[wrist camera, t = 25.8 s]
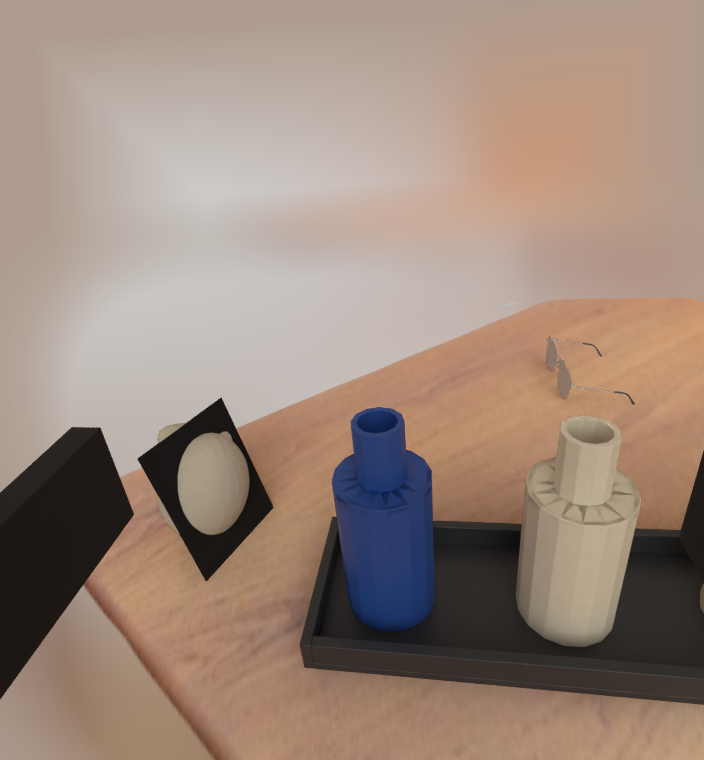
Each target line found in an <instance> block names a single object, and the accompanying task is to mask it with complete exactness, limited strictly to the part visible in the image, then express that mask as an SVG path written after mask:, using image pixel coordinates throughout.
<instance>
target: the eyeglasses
mask: <svg viewBox="0 0 704 760" xmlns="http://www.w3.org/2000/svg"><path fill="white" fill-rule="evenodd" d="M553 340H556V341H564V342H573V341H565V340H558V339H552V338H551V337H550V336H549V338H547V341H548V343H547V350H546V363H547V366H548V368H549V370H550V371H551V372H553V370H554V368H555V366H556V365H557V362H558V361H559V362H558V363H559V364H558V366H557V367H559V372H558V388H559V392H560V394H561V396H562V398H563V399H566V398H567V396H568V394H569V391H570V388H571V387H572V388H580V389H589V390H597V391H606V392H614V393H621V394H626V395H627V396H628V397H629V399H630V400H631V402H632V404H635V403H634V402H633V400H632V399H631V397H630V396H629V395H628V394H627V393H624V392H616V391H607V390H600V389H593V388H586V387H579V386H573V385H572V384H571V383H572V377H571V374H570V372H569V370H568V367H567V365H566V363H565V362H564V360H563V359H561V357H560V356H558V350H557V347H556V345H555V343H554V341H553ZM573 343H580V342H573ZM581 344H587V345H592V344H588V343H581ZM592 346H594V345H592ZM594 347H595V346H594ZM595 348H596V347H595ZM596 350H597V352H598V354H599V355H600V356H602V355H601V354H600V352H599V351H598V349H597V348H596ZM558 357H559V358H560V360H558ZM557 360H558V361H557Z"/></svg>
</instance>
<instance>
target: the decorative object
mask: <svg viewBox="0 0 704 760" xmlns="http://www.w3.org/2000/svg"><path fill="white" fill-rule="evenodd" d="M138 461H139V463H140V464H141V466H142V468H143V470H144V472H145V473H146V475H147V477H148V479H149V480H150V482H151V484H152V486H153V488H154V489H155V491H156V493H157V495H158V504H159V507H160V511H161V513H162V516H163V518H164V519H165V521H166V523H167V524H168V526H169V527H170V528H171V529H172V530H173V531H174V532H176V533H177V534H178V535H180V536H181V537H182V539H183V541H184V543H185V545H186V546H187V548H188V550H189V552H190V553H191V555H192V557H193V559H194V561H195V562H196V564H197V566H198V568H199V569H200V571H201V573H202V575H203V577H204V578H205V580H206V581H207V580H208V579H209V578H210V577H211V576H212V575H213V574H214V573H215V571H216V570H217V569H218V568H219V567H220V566H221V565H222V564H223V563H224V562H225V560H226V559H227V558H228V557H229V556H230V555H231V554H232V553H233V552H234V551H235V549H236V548H237V547H238V546H239V545H240V544H241V543H242V542H243V541H244V540H245V538H246V537H247V536H248V535H249V534H250V533H251V532H252V531H253V530H254V529H255V527H256V526H257V525H258V524H259V523H260V522H261V521H262V520H263V519H264V518H265V516H266V515H267V514H268V513H269V512H270V511H271V510H272V509H273V508H274V507H273V505H272V503H271V501H270V499H269V497H268V495H267V493H266V491H265V488H264V486H263V484H262V482H261V480H260V478H259V476H258V474H257V472H256V470H255V467H254V465H253V463H252V461H251V459H250V457H249V455H248V453H247V451H246V448H245V446H244V444H243V442H242V440H241V438H240V436H239V434H238V432H237V430H236V427H235V425H234V423H233V421H232V419H231V417H230V415H229V413H228V411H227V409H226V407H225V404H224V402H223V400H222V398H220V399H218V400H217V401H216V402H214V403H213V404H212V405H210V406H209V407H208V408H206V409H205V410H203V411H202V412H201V413H199V414H198V415H197V416H195V417H194V418H193V419H191V420H190V421H188V422H187V423H182V424H174V425H169V426H166V427H164V428H163V429H162V430H160V431H159V434H158V444H157V445H156V446H154V447H153V448H151V449H150V450H149V451H147V452H146V453H145V454H143V455H142V456H141V457H139V458H138Z"/></svg>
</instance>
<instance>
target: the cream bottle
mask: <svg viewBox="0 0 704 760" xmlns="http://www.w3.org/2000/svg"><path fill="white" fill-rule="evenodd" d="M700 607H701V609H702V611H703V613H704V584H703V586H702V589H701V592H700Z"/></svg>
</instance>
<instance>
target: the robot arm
mask: <svg viewBox="0 0 704 760" xmlns="http://www.w3.org/2000/svg"><path fill="white" fill-rule="evenodd" d="M133 515H134V513H133V510H132V508H131V505H130V503H129V500H128V498H127V495H126V492H125V490H124V487H123V485H122V482H121V480H120V477H119V474H118V472H117V469H116V467H115V464H114V462H113V459H112V457H111V454H110V451H109V449H108V446H107V444H106V441H105V439H104V436H103V434H102V431H101V428H83V427H80V428H79V427H72V428H71V429H69V430H68V431H67V432H66V433H65V434H64V435H63V436H62V437H61V438H60V439H58V440H57V441H56V442H55V443H54V444H53V445H52V446H51V447H50V448H49V449H48V450H47V451H45V452H44V453H43V454H42V455H41V456H40V457H39V458H38V459H37V460H36V461H34V462H33V463H32V465H30V466H29V467H28V468H27V469H26V470H25V471H24V472H22V473H21V474H20V475H19V476H18V477H17V478H16V479H15V480H14V481H13V482H12V483H10V485H8V486H7V487H6V488H5V489H4V490H3V491H2V492H1V493H0V699H1V698H2V696H3V695H4V693H5V692H6V691H7V689H8V688H9V687H10V685H11V684H12V682H13V681H14V679H15V678H16V677H17V676H18V674H19V673H20V671H21V670H22V668H23V667H24V666H25V664H26V663H27V662H28V660H29V659H30V658H31V656H32V655H33V653H34V652H35V651H36V649H37V648H38V647H39V645H40V644H41V642H42V641H43V639H44V638H45V636H46V635H47V634H48V633H49V631H50V630H51V629H52V627H53V626H54V624H55V623H56V621H57V620H58V619H59V617H60V616H61V615H62V613H63V612H64V611H65V609H66V608H67V606H68V605H69V604H70V602H71V601H72V600H73V598H74V597H75V595H76V594H77V593H78V591H79V590H80V588H81V587H82V586H83V584H84V583H85V582H86V580H87V579H88V577H89V576H90V575H91V573H92V572H93V571H94V569H95V568H96V566H97V565H98V564H99V562H100V561H101V559H102V558H103V557H104V555H105V554H106V553H107V551H108V550H109V548H110V547H111V546H112V544H113V543H114V541H115V540H116V539H117V537H118V536H119V535H120V533H121V532H122V530H123V529H124V528H125V526H126V525H127V524H128V522H129V521H130V519H131V518H132V517H133ZM679 538H680V540H681V542H682V544H683V546H684V548H685V550H686V552H687V554H688V555H689V557H690V559H691V561H692V563H693V565H694V567H695V569H696V571H697V573H698V574H699V576H700V578H701V580H702V582H703V584H704V451H703V455H702V458H701V462H700V465H699V469H698V472H697V476H696V479H695V483H694V486H693V490H692V493H691V497H690V500H689V504H688V507H687V511H686V514H685V518H684V521H683V525H682V528H681V532H680V535H679Z"/></svg>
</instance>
